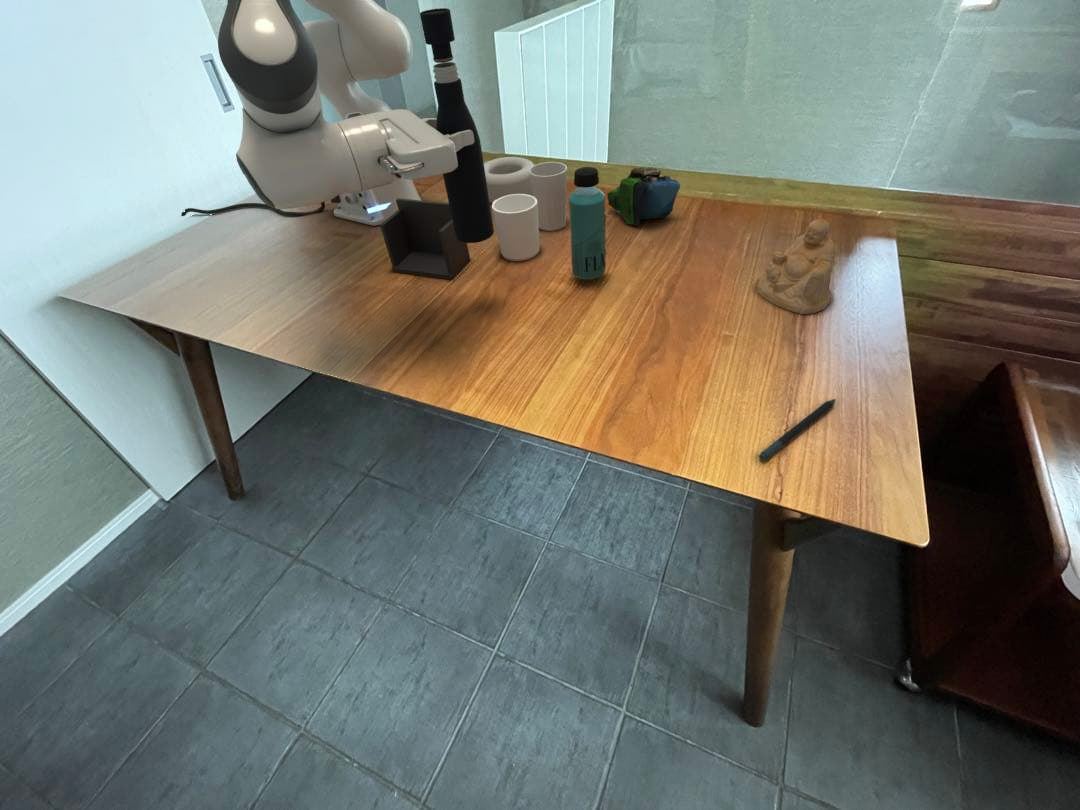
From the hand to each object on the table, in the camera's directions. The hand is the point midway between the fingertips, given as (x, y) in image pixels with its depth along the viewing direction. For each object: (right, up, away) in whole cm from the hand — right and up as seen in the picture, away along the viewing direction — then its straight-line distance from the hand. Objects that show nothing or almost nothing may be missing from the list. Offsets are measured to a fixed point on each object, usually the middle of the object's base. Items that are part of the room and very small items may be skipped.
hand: (462, 129), depth 76 cm
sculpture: (+34, +2, +41) cm, 53 cm away
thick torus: (+3, +13, +56) cm, 58 cm away
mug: (+7, -8, +34) cm, 35 cm away
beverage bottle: (+21, -16, +24) cm, 35 cm away
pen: (+45, -44, -8) cm, 63 cm away
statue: (+55, -21, +14) cm, 61 cm away
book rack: (-11, -11, +32) cm, 36 cm away
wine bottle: (+1, -12, +11) cm, 16 cm away
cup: (+14, 0, +41) cm, 44 cm away
